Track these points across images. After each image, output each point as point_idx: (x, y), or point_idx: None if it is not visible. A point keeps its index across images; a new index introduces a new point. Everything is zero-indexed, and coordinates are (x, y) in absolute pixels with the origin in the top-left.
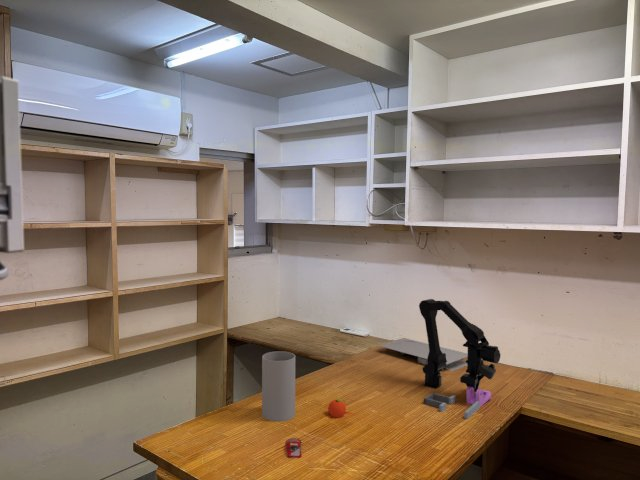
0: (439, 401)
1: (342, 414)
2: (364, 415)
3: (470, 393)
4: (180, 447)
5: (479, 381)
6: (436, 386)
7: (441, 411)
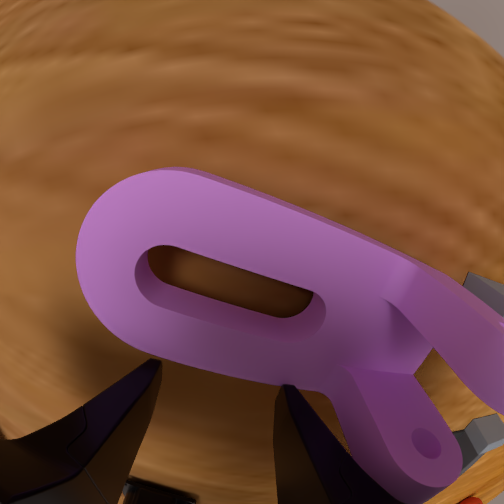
0: (466, 466)
1: (479, 499)
2: (462, 493)
3: (439, 430)
4: (492, 498)
5: (83, 457)
6: (179, 500)
7: (498, 421)
